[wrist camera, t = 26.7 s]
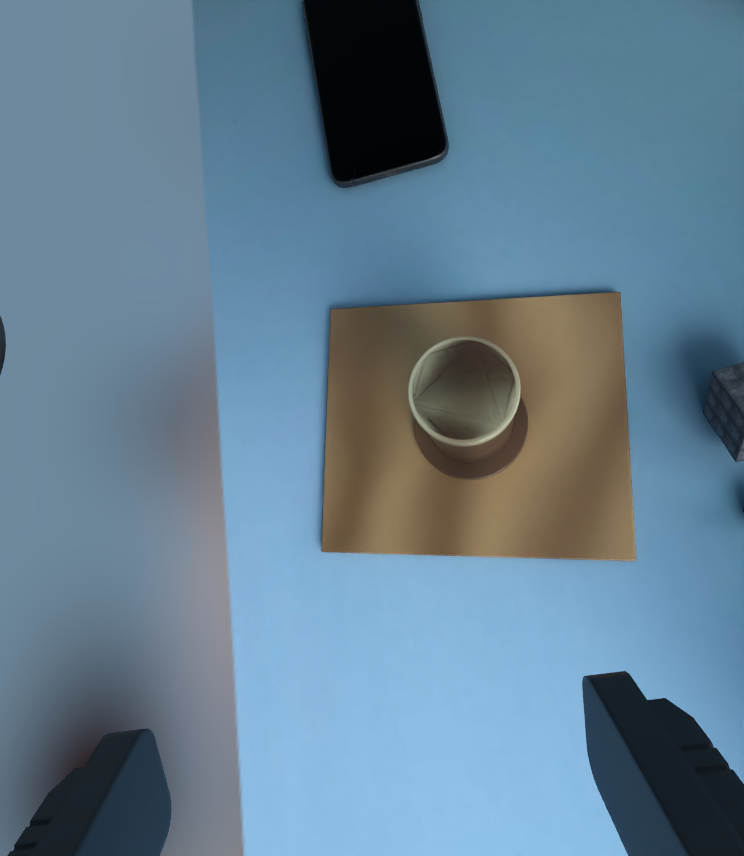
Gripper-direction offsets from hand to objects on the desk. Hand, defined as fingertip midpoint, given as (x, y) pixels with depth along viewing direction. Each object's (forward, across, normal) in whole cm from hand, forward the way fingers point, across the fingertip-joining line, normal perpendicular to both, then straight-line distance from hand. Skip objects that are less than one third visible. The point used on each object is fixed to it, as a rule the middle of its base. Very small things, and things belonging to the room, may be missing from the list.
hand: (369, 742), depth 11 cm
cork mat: (+22, -5, 0) cm, 22 cm away
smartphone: (+32, -3, -21) cm, 39 cm away
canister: (+21, -5, -1) cm, 22 cm away
